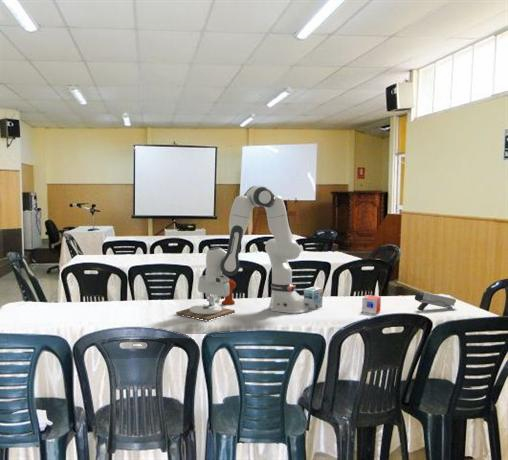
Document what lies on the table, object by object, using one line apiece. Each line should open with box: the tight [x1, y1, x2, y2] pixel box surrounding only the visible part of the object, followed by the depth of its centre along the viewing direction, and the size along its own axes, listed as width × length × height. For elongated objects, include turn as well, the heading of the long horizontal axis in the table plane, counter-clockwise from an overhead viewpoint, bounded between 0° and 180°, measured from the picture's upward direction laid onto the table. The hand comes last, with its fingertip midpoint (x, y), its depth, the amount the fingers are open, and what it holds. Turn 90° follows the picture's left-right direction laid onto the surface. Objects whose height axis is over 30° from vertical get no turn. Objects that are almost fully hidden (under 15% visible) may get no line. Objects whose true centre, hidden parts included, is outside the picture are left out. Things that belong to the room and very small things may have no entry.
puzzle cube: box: [361, 294, 382, 314], centre depth 265 cm, size 8×8×8 cm
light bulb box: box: [303, 286, 324, 310], centre depth 272 cm, size 11×7×11 cm, turn 143°
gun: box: [414, 291, 457, 311], centre depth 271 cm, size 2×25×10 cm, turn 101°
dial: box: [189, 295, 223, 315], centre depth 255 cm, size 17×17×6 cm
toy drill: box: [221, 278, 237, 306], centre depth 277 cm, size 5×19×15 cm, turn 100°
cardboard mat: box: [175, 304, 236, 322], centre depth 255 cm, size 22×22×2 cm
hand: (213, 302), depth 261 cm, fingers open, 4 cm apart
